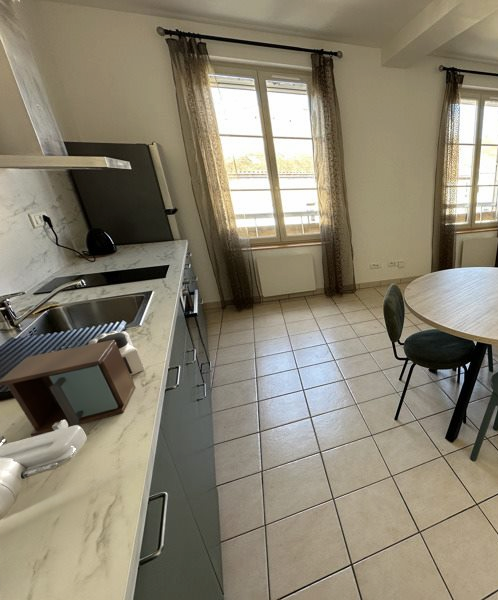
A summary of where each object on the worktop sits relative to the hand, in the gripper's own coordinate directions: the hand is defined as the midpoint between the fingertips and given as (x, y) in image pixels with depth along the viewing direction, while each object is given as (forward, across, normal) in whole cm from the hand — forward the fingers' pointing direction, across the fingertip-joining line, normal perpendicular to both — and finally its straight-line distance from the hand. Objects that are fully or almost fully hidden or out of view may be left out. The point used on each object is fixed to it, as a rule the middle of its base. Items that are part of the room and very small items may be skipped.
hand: (32, 431), depth 65 cm
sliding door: (+14, -2, +9) cm, 17 cm away
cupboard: (+22, +1, +11) cm, 24 cm away
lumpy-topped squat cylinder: (+50, +3, +11) cm, 52 cm away
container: (+38, -3, +11) cm, 39 cm away
